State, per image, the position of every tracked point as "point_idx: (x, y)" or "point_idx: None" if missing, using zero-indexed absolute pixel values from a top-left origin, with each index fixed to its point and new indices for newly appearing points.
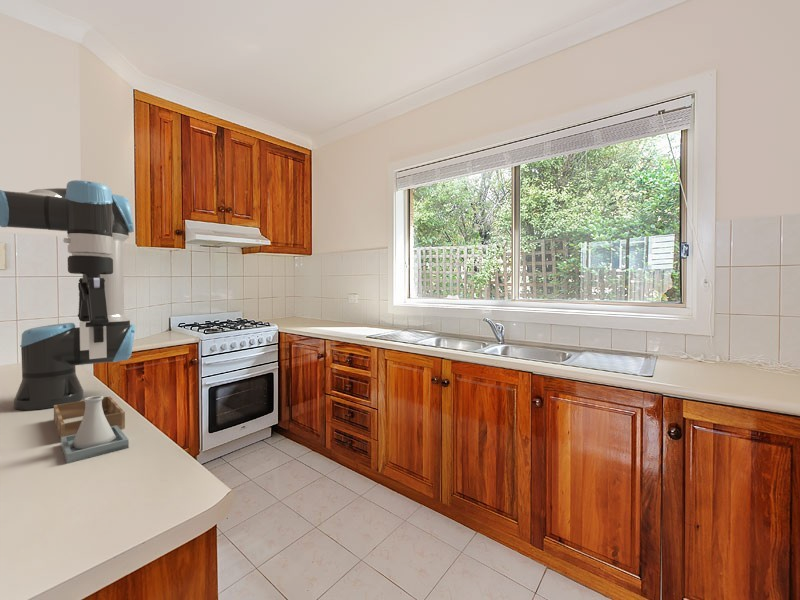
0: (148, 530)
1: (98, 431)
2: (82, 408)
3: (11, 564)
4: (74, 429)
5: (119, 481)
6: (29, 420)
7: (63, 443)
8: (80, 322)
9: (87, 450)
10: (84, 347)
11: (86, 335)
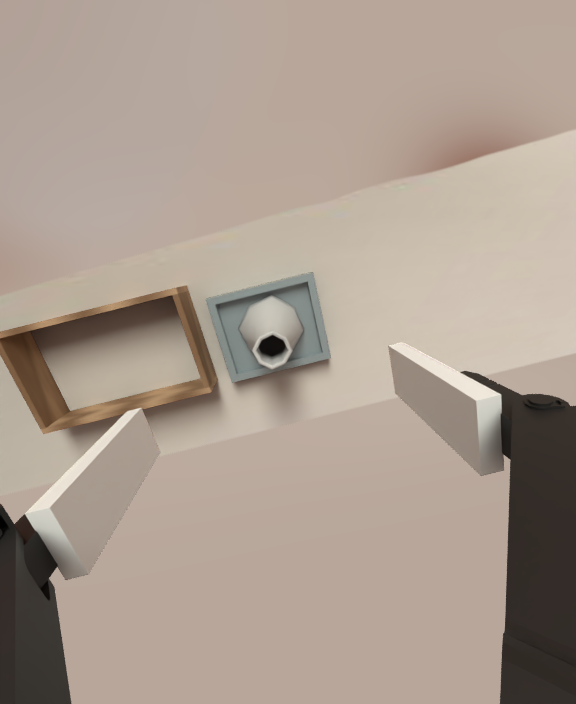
0: None
1: (293, 324)
2: (38, 380)
3: (566, 352)
4: (208, 368)
5: (447, 275)
6: (46, 455)
7: (270, 372)
8: (88, 569)
9: (324, 332)
10: (151, 448)
11: (122, 479)
